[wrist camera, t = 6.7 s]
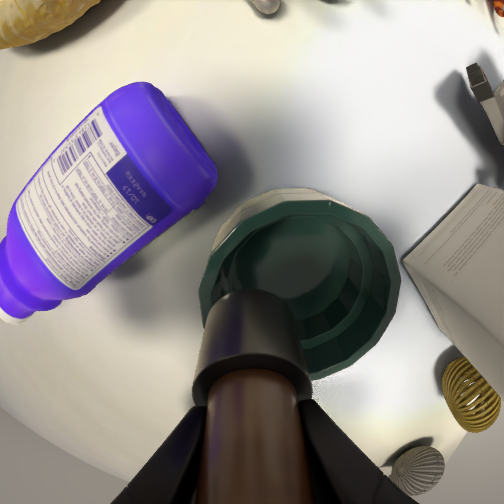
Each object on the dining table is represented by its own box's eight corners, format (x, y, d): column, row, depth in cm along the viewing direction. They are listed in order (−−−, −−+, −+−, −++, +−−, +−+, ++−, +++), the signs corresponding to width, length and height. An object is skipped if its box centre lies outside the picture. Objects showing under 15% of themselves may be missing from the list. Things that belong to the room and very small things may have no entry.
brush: (294, 357, 12) (335, 556, 4) (213, 363, 12) (189, 563, 4) (294, 284, 11) (369, 523, 3) (200, 291, 11) (135, 529, 3)
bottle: (161, 84, 14) (7, 249, 17) (123, 55, 9) (-39, 275, 12) (232, 181, 16) (57, 321, 19) (224, 192, 11) (20, 361, 14)
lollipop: (321, 449, 37) (301, 439, 34) (448, 447, 25) (447, 439, 22) (305, 501, 31) (281, 499, 28) (436, 510, 19) (432, 514, 15)
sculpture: (468, 378, 22) (504, 425, 15) (439, 400, 23) (471, 451, 16) (463, 333, 20) (512, 385, 13) (429, 358, 21) (473, 419, 13)
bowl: (356, 325, 19) (382, 370, 15) (219, 335, 19) (212, 386, 15) (368, 187, 16) (409, 200, 12) (205, 191, 16) (188, 205, 12)
